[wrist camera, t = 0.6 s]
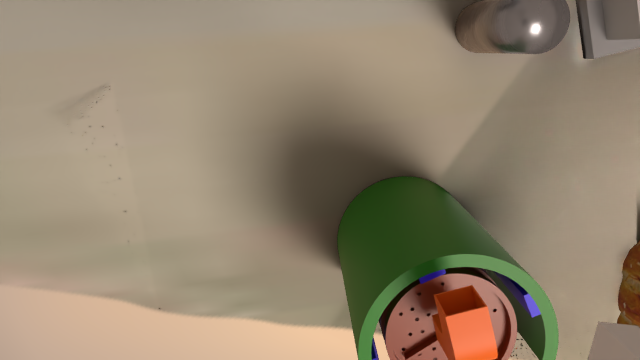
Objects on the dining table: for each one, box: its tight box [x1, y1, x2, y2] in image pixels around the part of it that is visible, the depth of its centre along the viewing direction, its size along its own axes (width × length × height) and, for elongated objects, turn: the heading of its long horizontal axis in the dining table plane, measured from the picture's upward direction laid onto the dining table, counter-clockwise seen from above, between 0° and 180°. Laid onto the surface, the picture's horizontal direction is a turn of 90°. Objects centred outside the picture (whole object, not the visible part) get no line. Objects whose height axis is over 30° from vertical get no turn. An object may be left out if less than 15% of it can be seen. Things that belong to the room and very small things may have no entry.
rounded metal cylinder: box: [455, 0, 570, 54], centre depth 34 cm, size 4×4×10 cm
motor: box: [337, 176, 558, 360], centre depth 33 cm, size 10×9×20 cm
